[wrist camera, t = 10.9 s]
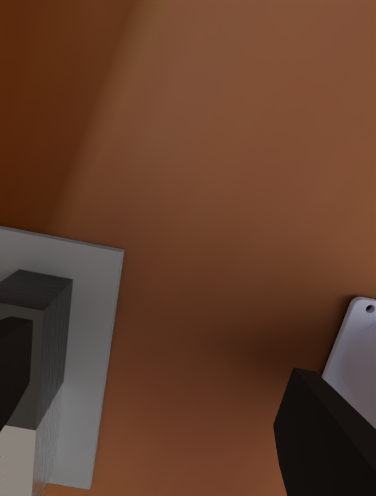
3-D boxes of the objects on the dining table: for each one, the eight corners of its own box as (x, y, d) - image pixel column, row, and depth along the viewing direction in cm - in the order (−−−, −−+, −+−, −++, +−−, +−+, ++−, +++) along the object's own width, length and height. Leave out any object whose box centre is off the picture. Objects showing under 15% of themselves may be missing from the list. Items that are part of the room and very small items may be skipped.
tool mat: (124, 249, 18) (122, 252, 17) (91, 482, 23) (89, 489, 22) (-21, 221, 17) (-27, 223, 17) (-20, 464, 23) (-25, 470, 22)
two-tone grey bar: (73, 279, 18) (43, 310, 14) (56, 464, 22) (29, 523, 18) (19, 269, 18) (-24, 298, 14) (12, 456, 22) (-23, 514, 18)
